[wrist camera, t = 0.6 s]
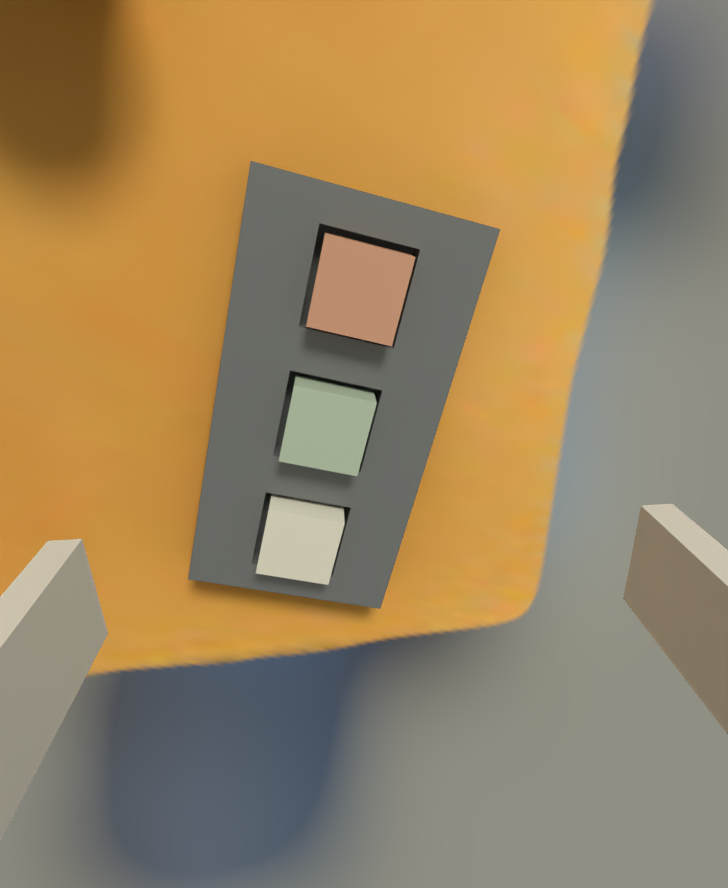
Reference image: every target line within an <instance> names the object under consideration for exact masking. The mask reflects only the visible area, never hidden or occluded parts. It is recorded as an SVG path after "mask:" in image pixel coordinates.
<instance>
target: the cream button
mask: <svg viewBox="0 0 728 888" xmlns="http://www.w3.org/2000/svg"><path fill="white" fill-rule="evenodd" d="M344 524H345V520H344V507H343V506H337V505H332V504H326V503H321V502H315V501H310V500H304V499H299V498H293V497H287V496H282V495H276V494H271V499H270V504H269V509H268V514H267V519H266V524H265V529H264V534H263V538H262V543H261V548H260V553H259V558H258V564H257V569H256V574H263V575H269V576H275V577H282V578H288V579H294V580H301V581H307V582H313V583H319V584H326V585H328V584H329V580H330V577H331V573H332V569H333V565H334V562H335V558H336V554H337V550H338V547H339V543H340V539H341V535H342V532H343V528H344Z"/></svg>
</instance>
